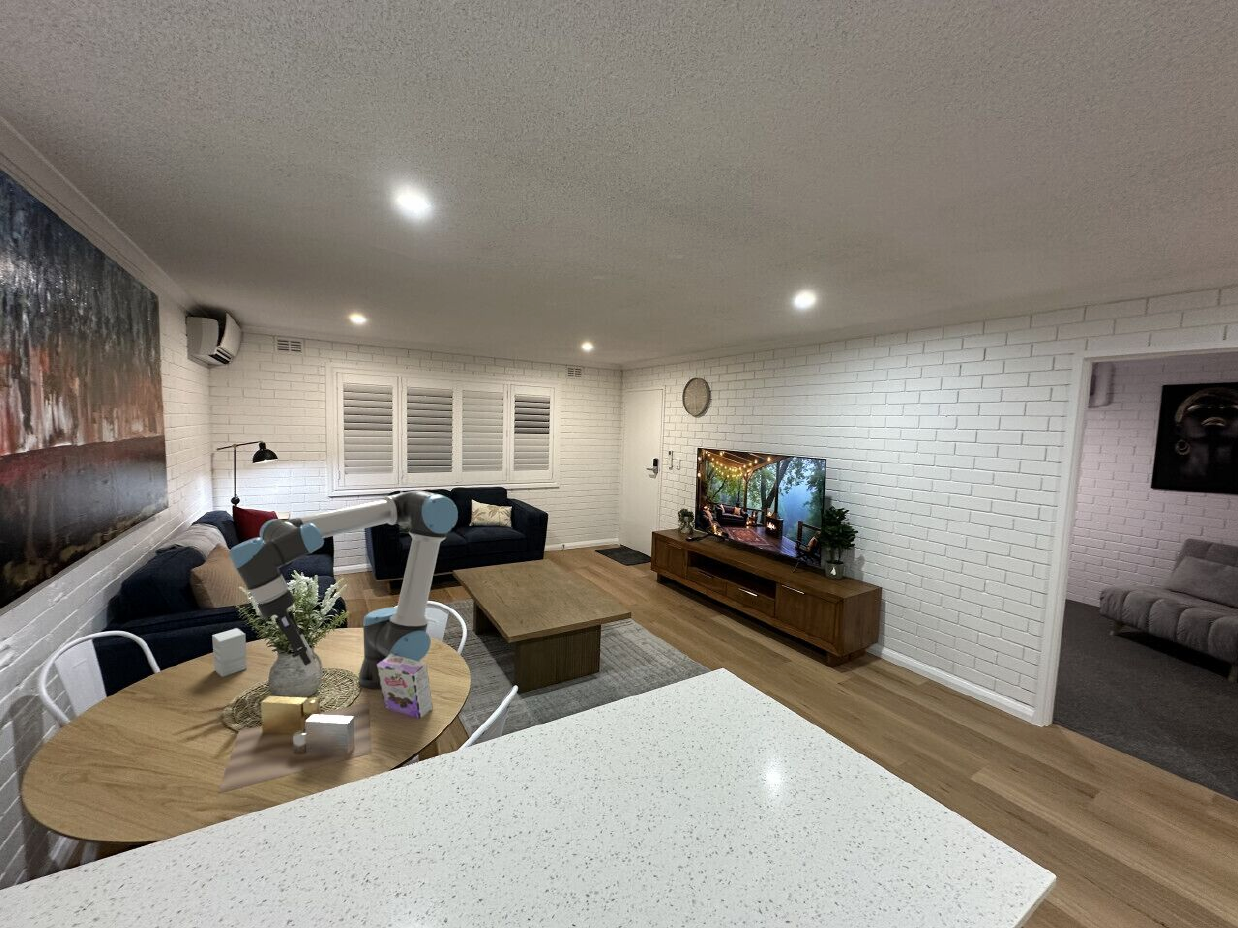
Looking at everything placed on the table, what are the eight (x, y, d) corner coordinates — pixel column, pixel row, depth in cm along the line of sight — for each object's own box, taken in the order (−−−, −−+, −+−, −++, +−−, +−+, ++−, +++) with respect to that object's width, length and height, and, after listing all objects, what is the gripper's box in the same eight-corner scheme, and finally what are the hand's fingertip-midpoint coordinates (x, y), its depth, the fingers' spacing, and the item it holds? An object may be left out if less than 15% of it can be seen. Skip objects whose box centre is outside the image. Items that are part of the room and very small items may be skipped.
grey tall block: (239, 661, 176) (237, 627, 174) (247, 668, 171) (245, 633, 170) (213, 670, 170) (211, 634, 168) (221, 677, 165) (219, 641, 164)
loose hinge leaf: (271, 724, 141) (270, 694, 140) (323, 727, 140) (322, 697, 139) (261, 733, 137) (259, 702, 136) (314, 736, 136) (313, 705, 135)
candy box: (384, 710, 151) (375, 664, 146) (399, 697, 156) (390, 652, 152) (420, 722, 146) (412, 674, 141) (434, 708, 151) (426, 661, 147)
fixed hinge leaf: (300, 743, 133) (299, 712, 132) (355, 746, 133) (354, 715, 132) (290, 754, 129) (288, 721, 128) (346, 757, 129) (346, 724, 128)
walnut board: (239, 734, 138) (239, 730, 138) (368, 705, 153) (368, 702, 153) (218, 797, 116) (218, 793, 116) (371, 756, 131) (371, 752, 131)
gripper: (255, 594, 136) (291, 658, 141) (257, 616, 116) (299, 690, 121) (285, 579, 140) (320, 643, 145) (292, 599, 120) (332, 671, 125)
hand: (310, 665), depth 133 cm, fingers open, 13 cm apart
